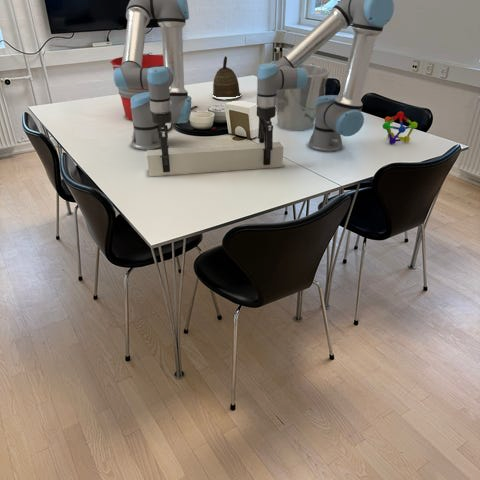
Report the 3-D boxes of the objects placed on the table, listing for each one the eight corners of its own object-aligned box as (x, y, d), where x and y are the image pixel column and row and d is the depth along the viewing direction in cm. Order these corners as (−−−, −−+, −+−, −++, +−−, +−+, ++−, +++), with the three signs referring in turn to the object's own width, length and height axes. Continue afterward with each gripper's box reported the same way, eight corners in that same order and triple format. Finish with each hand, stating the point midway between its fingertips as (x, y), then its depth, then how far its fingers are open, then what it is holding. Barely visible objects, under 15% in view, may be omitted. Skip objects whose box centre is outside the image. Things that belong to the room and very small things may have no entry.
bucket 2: (296, 138, 215) (301, 78, 201) (255, 124, 234) (256, 68, 219) (335, 125, 232) (342, 70, 217) (294, 113, 251) (297, 61, 236)
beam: (149, 176, 176) (147, 155, 172) (149, 170, 181) (146, 150, 177) (282, 166, 185) (283, 146, 181) (278, 161, 190) (279, 141, 186)
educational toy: (377, 146, 209) (379, 114, 202) (384, 138, 219) (386, 107, 211) (411, 149, 202) (415, 116, 195) (417, 141, 212) (420, 109, 204)
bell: (227, 105, 294) (202, 96, 282) (238, 66, 289) (213, 55, 277) (243, 108, 280) (217, 98, 268) (255, 66, 275) (229, 55, 263)
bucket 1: (124, 106, 262) (117, 51, 246) (183, 106, 262) (180, 52, 246) (108, 124, 233) (99, 63, 217) (174, 124, 232) (170, 64, 216)
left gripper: (172, 118, 159) (177, 177, 171) (169, 103, 176) (173, 158, 188) (151, 119, 158) (157, 178, 170) (150, 104, 174) (155, 159, 187)
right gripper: (282, 112, 166) (279, 169, 178) (269, 99, 182) (267, 151, 195) (263, 113, 164) (261, 171, 176) (251, 99, 181) (250, 153, 193)
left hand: (166, 167), depth 179 cm, fingers open, 7 cm apart
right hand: (264, 161), depth 185 cm, fingers open, 7 cm apart
